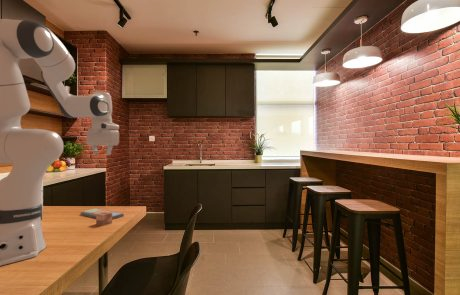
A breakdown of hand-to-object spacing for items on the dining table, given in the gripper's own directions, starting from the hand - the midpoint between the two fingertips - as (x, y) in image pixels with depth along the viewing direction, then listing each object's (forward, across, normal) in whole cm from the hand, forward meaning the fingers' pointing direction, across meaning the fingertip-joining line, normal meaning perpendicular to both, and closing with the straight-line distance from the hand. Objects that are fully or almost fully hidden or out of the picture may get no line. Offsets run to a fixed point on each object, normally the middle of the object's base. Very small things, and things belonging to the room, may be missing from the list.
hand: (101, 154), depth 124 cm
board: (+30, -2, +1) cm, 30 cm away
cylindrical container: (+30, -24, -18) cm, 43 cm away
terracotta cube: (+30, +12, -7) cm, 33 cm away
